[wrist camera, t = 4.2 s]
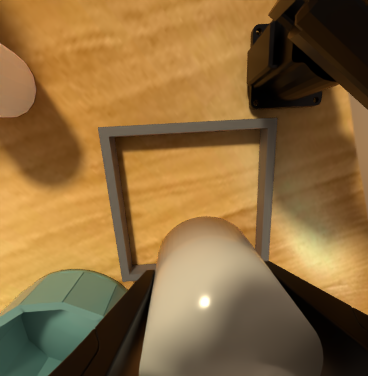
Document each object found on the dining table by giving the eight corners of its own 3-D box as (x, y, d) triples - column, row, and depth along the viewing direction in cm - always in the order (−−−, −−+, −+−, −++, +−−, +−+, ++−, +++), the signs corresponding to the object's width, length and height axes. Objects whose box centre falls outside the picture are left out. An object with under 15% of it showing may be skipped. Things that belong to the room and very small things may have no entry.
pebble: (252, 213, 9) (335, 289, 4) (249, 295, 10) (312, 426, 6) (153, 220, 9) (127, 306, 4) (161, 302, 10) (148, 443, 5)
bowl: (133, 264, 21) (121, 297, 16) (146, 358, 24) (139, 406, 20) (5, 273, 20) (-43, 309, 16) (36, 367, 24) (4, 418, 19)
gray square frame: (269, 119, 17) (277, 117, 16) (261, 262, 21) (267, 270, 20) (104, 128, 17) (97, 127, 16) (126, 272, 21) (122, 281, 19)
